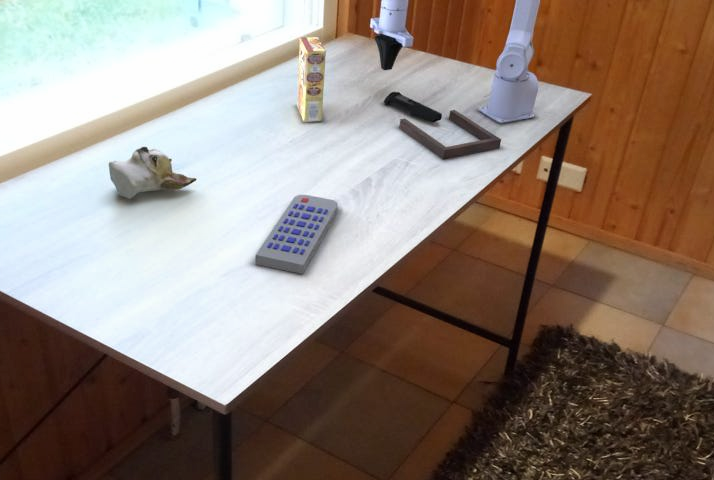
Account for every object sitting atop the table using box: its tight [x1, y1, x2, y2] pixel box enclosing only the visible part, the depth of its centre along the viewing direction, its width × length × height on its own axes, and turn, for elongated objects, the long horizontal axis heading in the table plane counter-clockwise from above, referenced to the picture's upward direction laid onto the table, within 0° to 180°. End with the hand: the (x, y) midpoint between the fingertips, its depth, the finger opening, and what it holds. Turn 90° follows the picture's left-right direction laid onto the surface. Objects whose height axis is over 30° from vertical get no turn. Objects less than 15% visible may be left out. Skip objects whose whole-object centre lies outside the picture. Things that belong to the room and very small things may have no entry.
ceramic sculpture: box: [108, 146, 197, 200], centre depth 146 cm, size 11×9×15 cm
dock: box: [398, 109, 502, 160], centre depth 169 cm, size 14×16×2 cm
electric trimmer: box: [383, 91, 443, 123], centre depth 178 cm, size 4×16×3 cm, turn 36°
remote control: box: [254, 194, 339, 275], centre depth 137 cm, size 8×23×2 cm, turn 160°
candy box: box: [297, 36, 327, 123], centre depth 173 cm, size 9×4×15 cm, turn 8°
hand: (386, 68), depth 184 cm, fingers closed
